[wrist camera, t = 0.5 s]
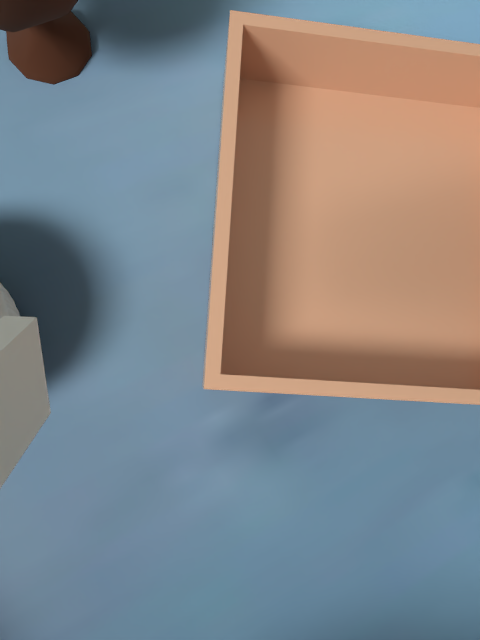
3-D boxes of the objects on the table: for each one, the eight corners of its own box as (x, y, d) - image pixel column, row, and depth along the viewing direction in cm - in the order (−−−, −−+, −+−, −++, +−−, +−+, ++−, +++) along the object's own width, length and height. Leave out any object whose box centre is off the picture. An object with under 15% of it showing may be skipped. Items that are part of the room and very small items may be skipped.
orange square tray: (523, 404, 29) (590, 410, 24) (202, 385, 27) (204, 389, 22) (517, 106, 32) (576, 57, 27) (224, 69, 30) (230, 10, 25)
